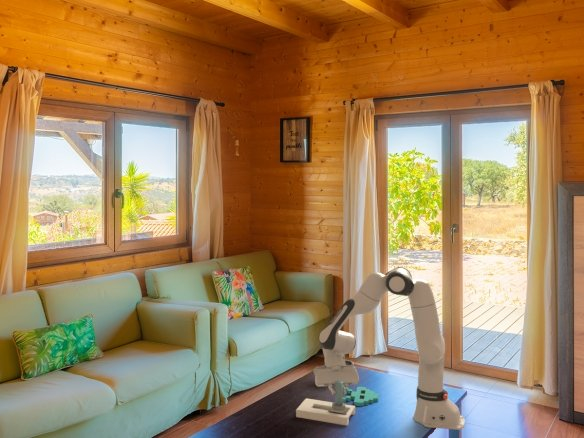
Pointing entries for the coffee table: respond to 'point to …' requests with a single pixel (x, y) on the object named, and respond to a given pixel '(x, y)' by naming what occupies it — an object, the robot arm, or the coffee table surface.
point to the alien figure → (361, 396)
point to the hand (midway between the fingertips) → (339, 394)
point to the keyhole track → (324, 412)
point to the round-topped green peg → (338, 396)
